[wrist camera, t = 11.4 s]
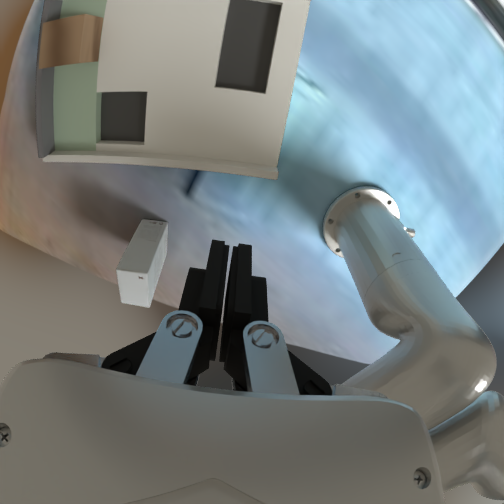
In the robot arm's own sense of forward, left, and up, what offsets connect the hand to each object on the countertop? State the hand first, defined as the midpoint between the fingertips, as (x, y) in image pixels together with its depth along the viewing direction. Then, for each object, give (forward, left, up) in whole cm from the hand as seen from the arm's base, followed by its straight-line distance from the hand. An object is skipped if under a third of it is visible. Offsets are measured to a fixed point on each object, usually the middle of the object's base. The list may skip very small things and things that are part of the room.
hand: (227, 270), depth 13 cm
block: (+21, -11, -26) cm, 36 cm away
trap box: (+10, -7, -28) cm, 31 cm away
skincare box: (+10, +18, -28) cm, 35 cm away
